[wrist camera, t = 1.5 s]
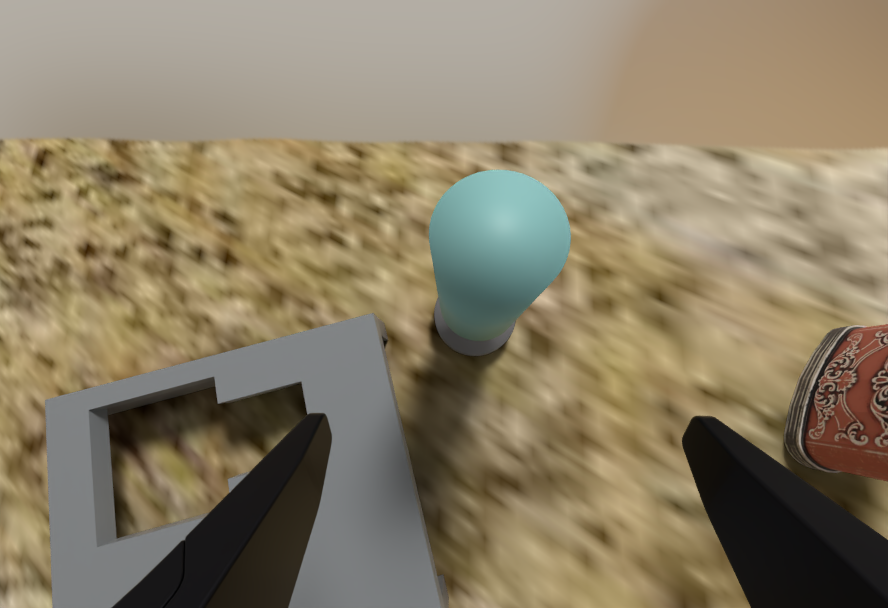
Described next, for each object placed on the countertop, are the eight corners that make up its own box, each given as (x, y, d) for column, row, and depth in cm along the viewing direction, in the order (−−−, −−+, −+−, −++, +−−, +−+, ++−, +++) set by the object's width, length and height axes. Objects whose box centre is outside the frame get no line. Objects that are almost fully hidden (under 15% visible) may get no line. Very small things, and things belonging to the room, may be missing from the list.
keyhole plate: (448, 596, 18) (447, 636, 16) (122, 692, 18) (57, 752, 15) (384, 323, 21) (373, 313, 18) (102, 398, 21) (44, 399, 18)
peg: (523, 344, 21) (611, 292, 9) (446, 365, 21) (438, 338, 9) (500, 271, 22) (554, 139, 10) (426, 290, 22) (395, 179, 10)
